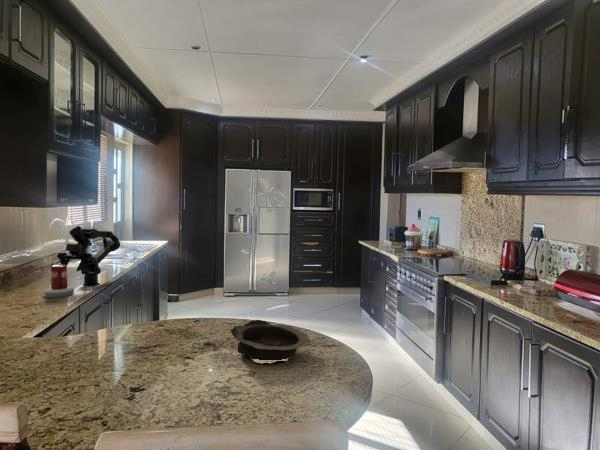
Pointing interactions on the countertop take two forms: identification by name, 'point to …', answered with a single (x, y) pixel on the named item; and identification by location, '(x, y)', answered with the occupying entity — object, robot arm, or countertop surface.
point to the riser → (59, 293)
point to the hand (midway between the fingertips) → (69, 270)
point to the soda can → (58, 277)
